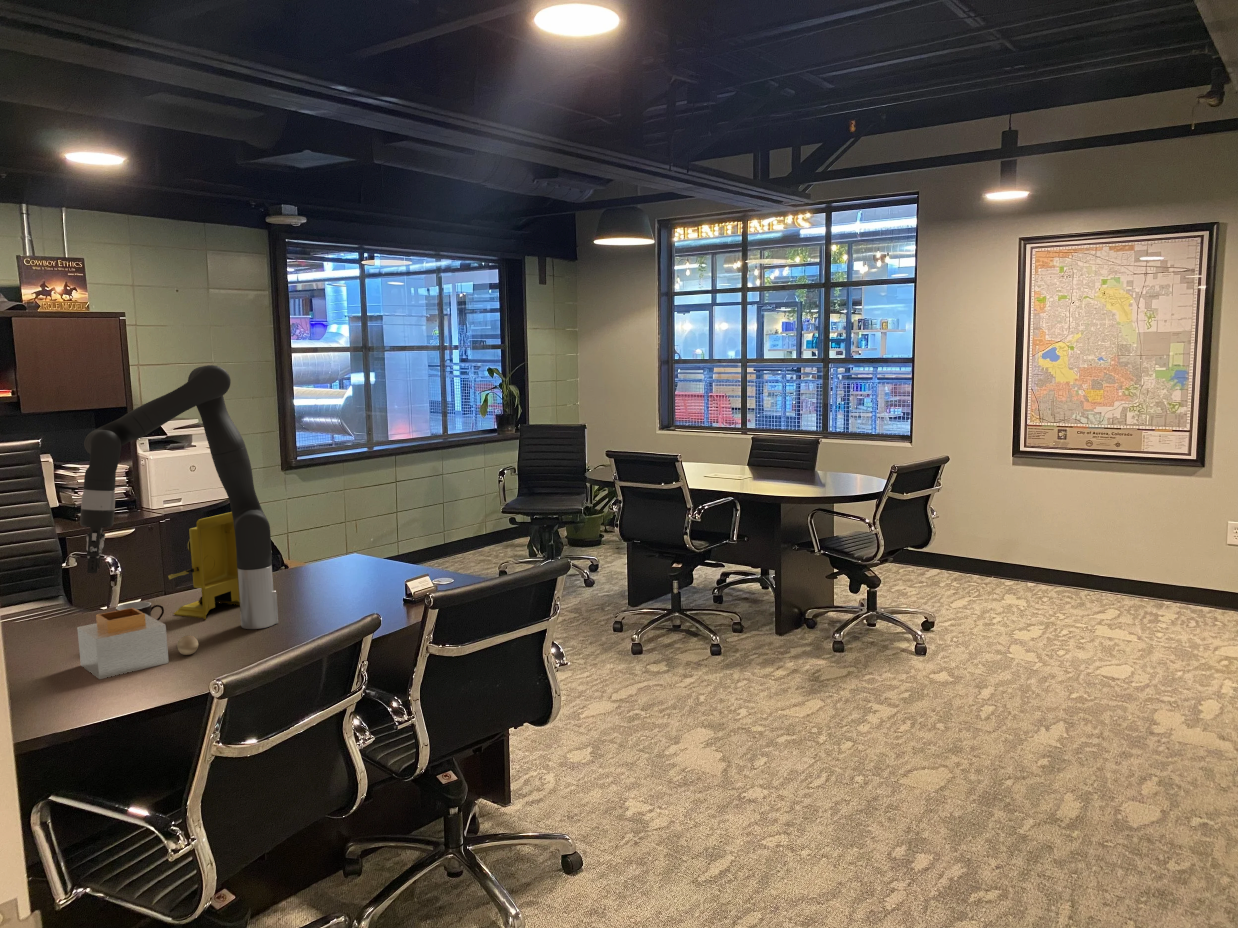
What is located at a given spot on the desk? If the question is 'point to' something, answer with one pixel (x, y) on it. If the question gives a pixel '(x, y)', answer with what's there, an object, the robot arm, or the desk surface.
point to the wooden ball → (187, 645)
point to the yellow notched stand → (212, 565)
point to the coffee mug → (141, 607)
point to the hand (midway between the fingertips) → (93, 570)
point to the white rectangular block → (122, 643)
